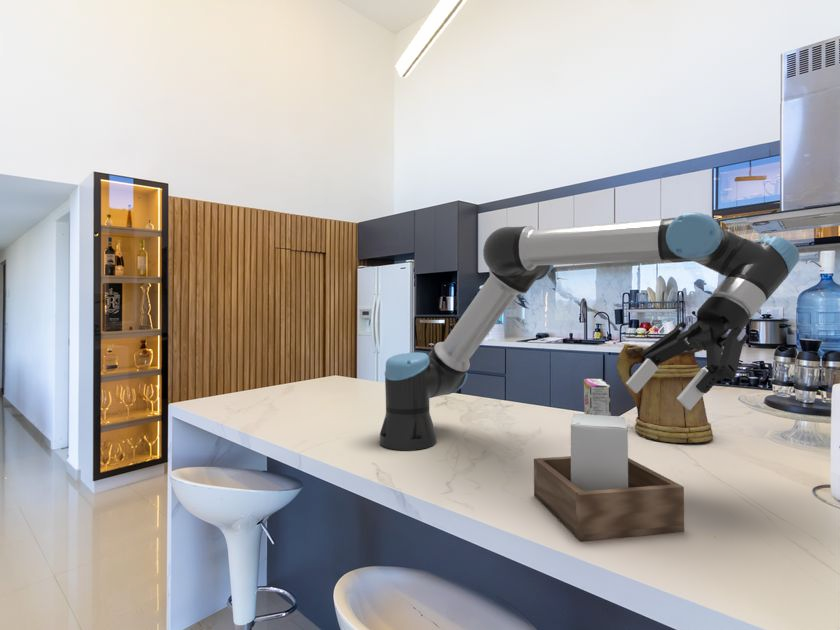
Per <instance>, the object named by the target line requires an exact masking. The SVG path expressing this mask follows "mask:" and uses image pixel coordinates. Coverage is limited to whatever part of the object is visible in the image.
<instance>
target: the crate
mask: <svg viewBox="0 0 840 630" xmlns="http://www.w3.org/2000/svg"><path fill="white" fill-rule="evenodd" d="M533 490H534V491H533V497H534V498H536V499H537V500H538V502H540V503H541V504H542V505H543V506H544V507H545V508H546V509H547V510H548V511H549V512H550V513H551V514H552V515H553V516H554V517H555V518H556V519H557V520H558V521H559V522H560V523H561V524H562V525H563V526H564V527H565V528H566V529H567V530H568V531H569V532H570V533H571V534H573V536H574V537H576V539H577V540H578V542H587V541H597V540H606V539H607V540H608V539H618V538H628V537H639V536H650V535H660V534H661V535H662V534H670V533H682V532H685V486H683V485H681V484H679V483H677V482H676V481H674V480H671V478H668V477H666V476H664V475H662V474H660V473H658V472H657V471H654V470H653V469H650V468H648V467H647V466H646V465H645V466H644V465H643V464H641V463H640V462H637V461H635V460H633V459H631V458H629V457H628V488H620V489H607V490H594V491H582V490H581V489H579V488H578V487H577V486H576V485H574V484H573V483H572V482H571V455H570V456H569V455H568V456H567V455H566V456H553V457H539V458H537V457H536V458H533Z"/></svg>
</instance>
